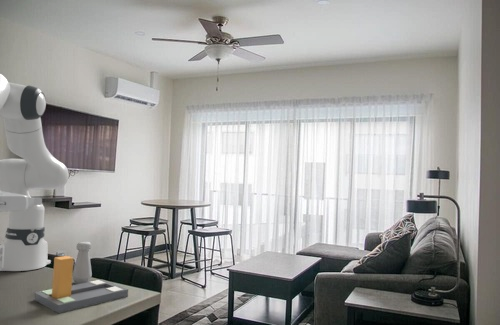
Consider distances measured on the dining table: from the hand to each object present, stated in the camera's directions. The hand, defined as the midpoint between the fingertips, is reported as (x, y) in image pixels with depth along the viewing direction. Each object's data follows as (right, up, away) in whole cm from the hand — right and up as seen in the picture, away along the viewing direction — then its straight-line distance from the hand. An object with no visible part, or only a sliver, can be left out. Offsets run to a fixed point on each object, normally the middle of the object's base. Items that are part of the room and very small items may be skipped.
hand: (32, 199), depth 97 cm
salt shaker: (+1, -29, +25) cm, 38 cm away
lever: (+4, -27, +6) cm, 28 cm away
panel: (+8, -29, +11) cm, 32 cm away
